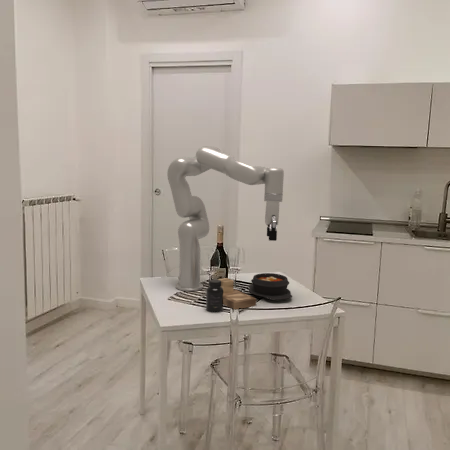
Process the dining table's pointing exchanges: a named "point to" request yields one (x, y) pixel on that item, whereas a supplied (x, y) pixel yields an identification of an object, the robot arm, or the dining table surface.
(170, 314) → the dining table surface
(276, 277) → the casserole
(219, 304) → the supplement bottle
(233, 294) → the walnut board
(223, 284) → the oak cube
